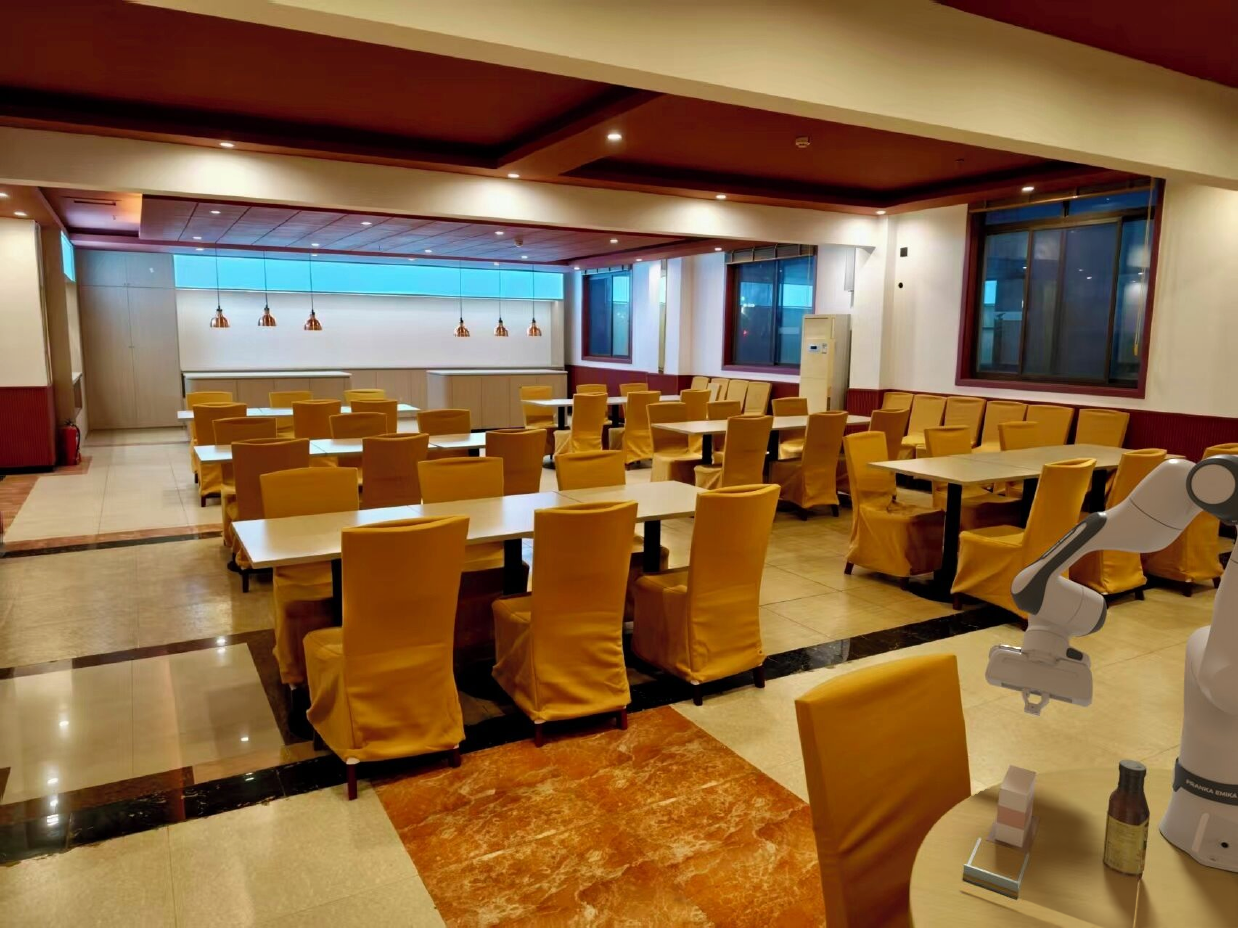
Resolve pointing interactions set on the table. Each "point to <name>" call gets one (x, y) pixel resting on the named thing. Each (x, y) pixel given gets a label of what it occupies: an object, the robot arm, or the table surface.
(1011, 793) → the tile stack
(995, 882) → the tray
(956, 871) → the table surface
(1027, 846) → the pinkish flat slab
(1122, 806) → the sauce bottle
